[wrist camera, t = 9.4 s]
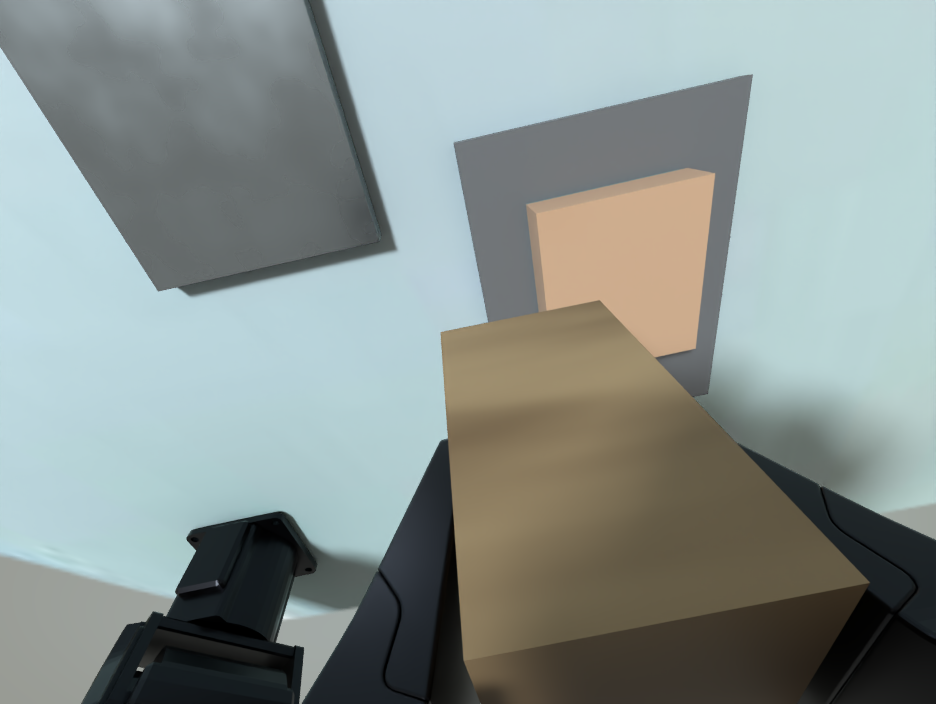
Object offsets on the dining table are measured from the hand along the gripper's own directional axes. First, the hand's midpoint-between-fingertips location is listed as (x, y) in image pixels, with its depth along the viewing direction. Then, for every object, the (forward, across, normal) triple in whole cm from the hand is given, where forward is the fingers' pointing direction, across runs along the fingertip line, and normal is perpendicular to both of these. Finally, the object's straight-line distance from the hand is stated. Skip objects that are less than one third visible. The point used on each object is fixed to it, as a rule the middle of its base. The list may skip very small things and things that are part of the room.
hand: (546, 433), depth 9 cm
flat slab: (+10, -6, +5) cm, 13 cm away
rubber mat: (+12, -6, +2) cm, 13 cm away
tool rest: (+12, +9, -7) cm, 17 cm away
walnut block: (+2, 0, 0) cm, 2 cm away
